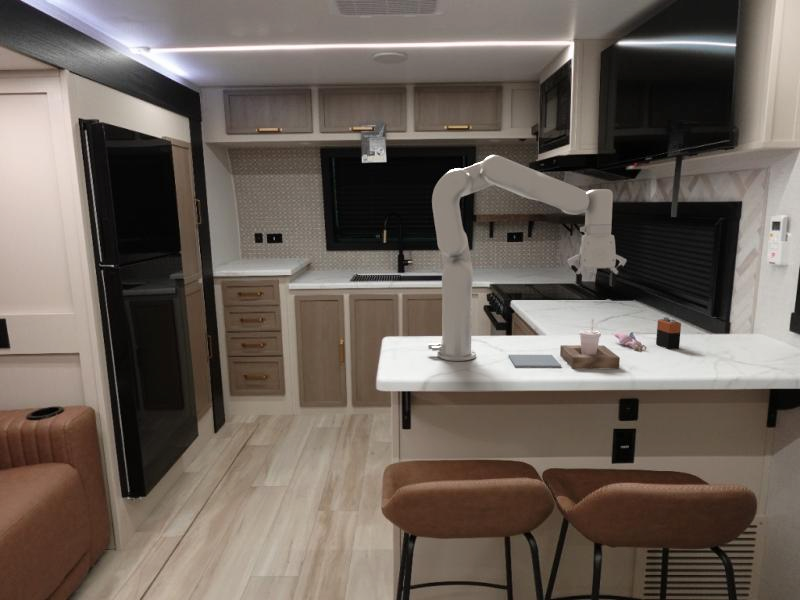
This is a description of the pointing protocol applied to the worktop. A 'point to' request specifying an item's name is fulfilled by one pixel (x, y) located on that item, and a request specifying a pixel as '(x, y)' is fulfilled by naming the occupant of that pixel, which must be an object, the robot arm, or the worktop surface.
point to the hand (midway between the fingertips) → (595, 286)
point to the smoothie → (589, 341)
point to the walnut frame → (589, 357)
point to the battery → (668, 333)
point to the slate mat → (534, 361)
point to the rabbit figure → (629, 340)
